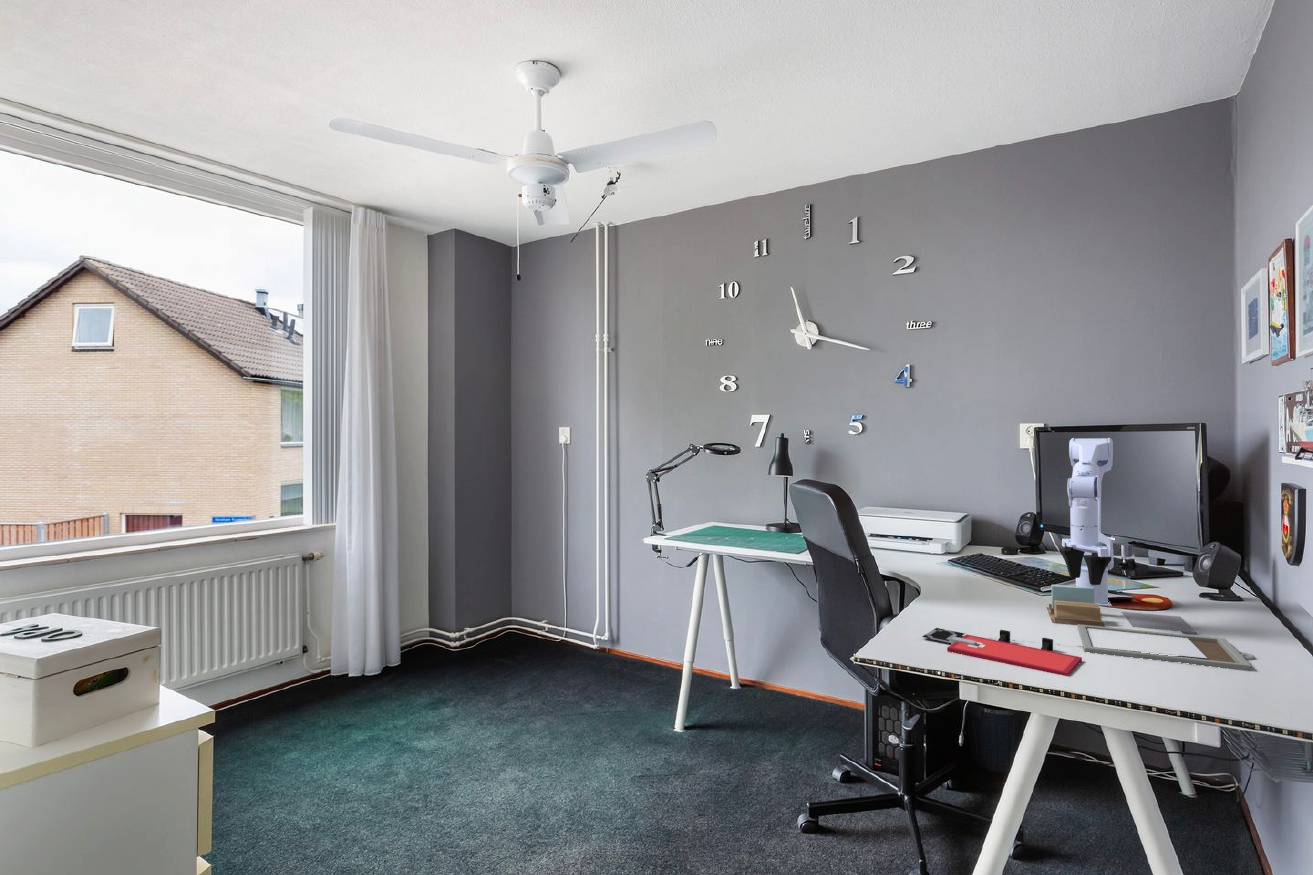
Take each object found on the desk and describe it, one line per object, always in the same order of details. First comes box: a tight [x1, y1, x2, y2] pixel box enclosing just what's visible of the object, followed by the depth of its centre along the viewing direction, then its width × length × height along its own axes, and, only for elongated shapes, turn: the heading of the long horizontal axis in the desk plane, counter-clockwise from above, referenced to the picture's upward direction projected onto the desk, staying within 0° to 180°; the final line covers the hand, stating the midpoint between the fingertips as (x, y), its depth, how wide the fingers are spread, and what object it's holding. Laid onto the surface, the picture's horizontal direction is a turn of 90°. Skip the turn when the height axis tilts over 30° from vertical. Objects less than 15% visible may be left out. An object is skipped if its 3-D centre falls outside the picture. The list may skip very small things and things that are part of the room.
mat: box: [1121, 611, 1198, 635], centre depth 163 cm, size 14×12×1 cm
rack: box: [1046, 603, 1107, 627], centre depth 168 cm, size 16×11×2 cm
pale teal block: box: [1051, 584, 1094, 608], centre depth 172 cm, size 2×9×6 cm, turn 65°
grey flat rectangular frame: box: [1076, 624, 1256, 672], centre depth 146 cm, size 19×2×30 cm
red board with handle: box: [921, 627, 1083, 677], centre depth 146 cm, size 30×3×15 cm
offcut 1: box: [1054, 600, 1100, 616], centre depth 166 cm, size 2×9×4 cm, turn 65°
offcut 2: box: [1055, 603, 1101, 621], centre depth 164 cm, size 2×9×4 cm, turn 65°
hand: (1084, 581), depth 167 cm, fingers open, 7 cm apart
